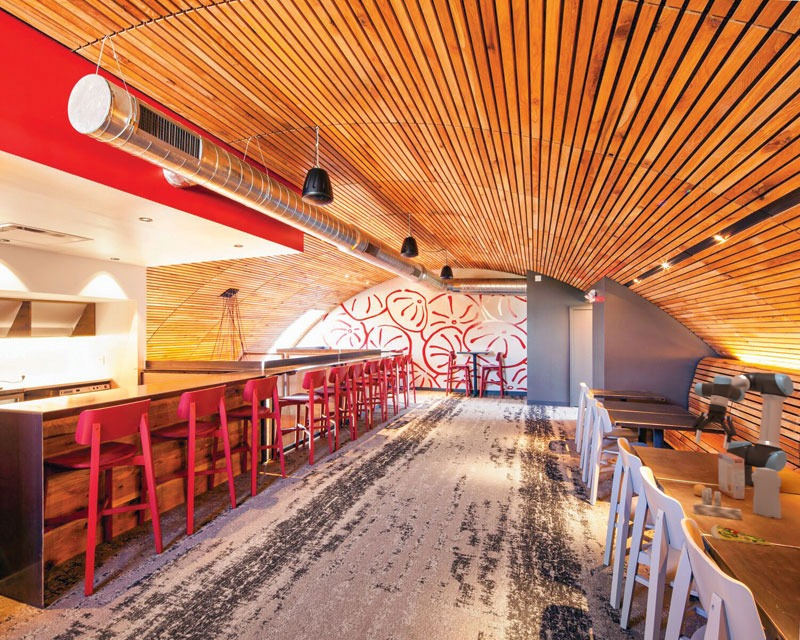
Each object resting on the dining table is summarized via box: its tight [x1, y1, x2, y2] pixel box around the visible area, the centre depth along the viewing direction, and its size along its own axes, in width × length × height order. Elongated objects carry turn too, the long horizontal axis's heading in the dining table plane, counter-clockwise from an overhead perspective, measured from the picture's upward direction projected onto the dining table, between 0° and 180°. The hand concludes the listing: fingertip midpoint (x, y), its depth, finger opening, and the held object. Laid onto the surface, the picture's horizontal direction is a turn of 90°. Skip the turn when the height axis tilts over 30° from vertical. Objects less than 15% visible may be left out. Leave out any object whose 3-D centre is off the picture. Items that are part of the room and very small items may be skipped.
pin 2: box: [713, 490, 722, 507], centre depth 206 cm, size 2×2×8 cm
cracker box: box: [717, 451, 746, 500], centre depth 228 cm, size 14×6×21 cm, turn 168°
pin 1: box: [701, 490, 708, 505], centre depth 208 cm, size 2×2×8 cm
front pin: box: [706, 487, 713, 506], centre depth 211 cm, size 2×2×8 cm
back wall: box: [693, 503, 743, 521], centre depth 199 cm, size 18×2×4 cm, turn 68°
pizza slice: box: [710, 524, 776, 547], centre depth 176 cm, size 16×21×3 cm
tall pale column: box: [752, 467, 782, 520], centre depth 200 cm, size 11×4×22 cm, turn 54°
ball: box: [693, 483, 707, 497], centre depth 225 cm, size 6×6×6 cm
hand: (710, 445), depth 219 cm, fingers open, 13 cm apart
